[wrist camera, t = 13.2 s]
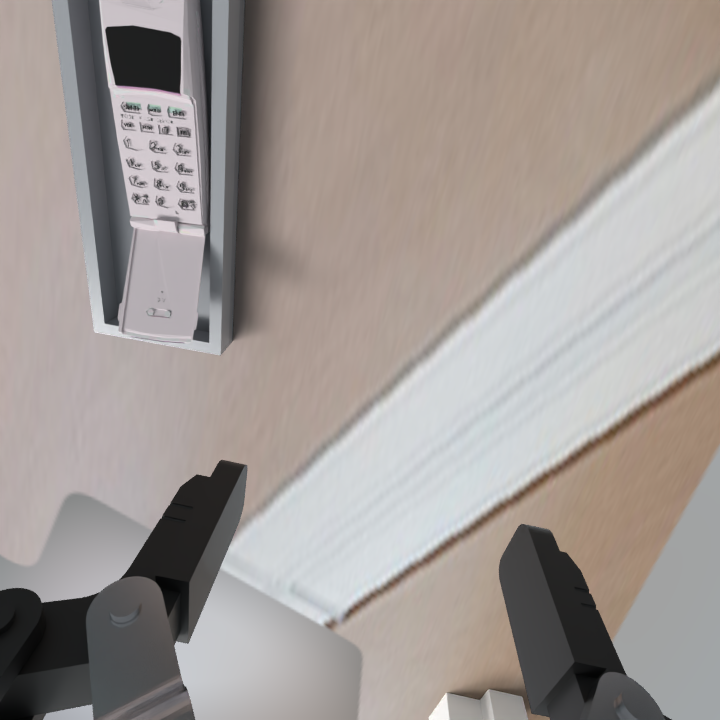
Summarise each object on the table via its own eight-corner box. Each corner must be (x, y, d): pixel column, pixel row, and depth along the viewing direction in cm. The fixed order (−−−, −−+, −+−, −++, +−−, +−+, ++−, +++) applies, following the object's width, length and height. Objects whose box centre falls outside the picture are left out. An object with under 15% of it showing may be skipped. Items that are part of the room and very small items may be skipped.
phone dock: (68, -140, 25) (29, -175, 22) (248, -103, 25) (231, -133, 23) (114, 319, 38) (94, 332, 36) (232, 341, 39) (220, 355, 36)
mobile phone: (117, 338, 31) (37, -131, 20) (155, 311, 37) (109, -72, 25) (196, 347, 31) (161, -115, 20) (222, 319, 37) (207, -60, 25)
